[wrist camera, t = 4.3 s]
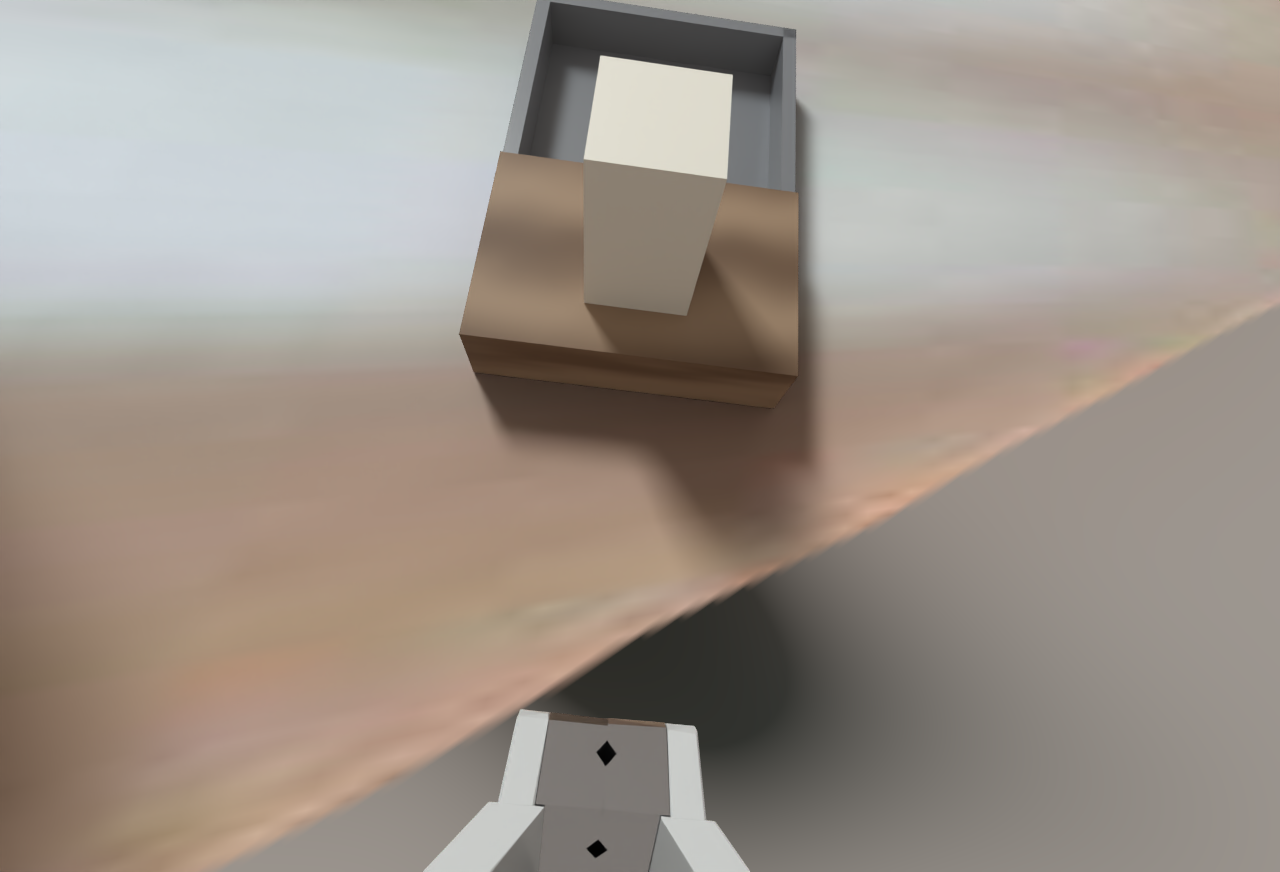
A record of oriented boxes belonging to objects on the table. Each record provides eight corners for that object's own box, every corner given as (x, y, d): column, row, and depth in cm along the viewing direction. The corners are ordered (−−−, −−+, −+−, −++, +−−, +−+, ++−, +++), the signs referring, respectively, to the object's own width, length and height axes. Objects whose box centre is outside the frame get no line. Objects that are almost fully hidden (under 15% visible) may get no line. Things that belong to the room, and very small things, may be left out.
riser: (773, 408, 33) (798, 375, 29) (473, 372, 32) (459, 333, 28) (776, 240, 37) (798, 192, 33) (509, 204, 36) (500, 151, 32)
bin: (776, 236, 37) (795, 195, 33) (509, 200, 36) (502, 154, 33) (779, 79, 41) (796, 29, 38) (542, 44, 40) (539, -10, 37)
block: (686, 315, 30) (726, 178, 21) (583, 302, 29) (583, 159, 21) (692, 231, 31) (732, 74, 23) (596, 218, 31) (600, 55, 23)
